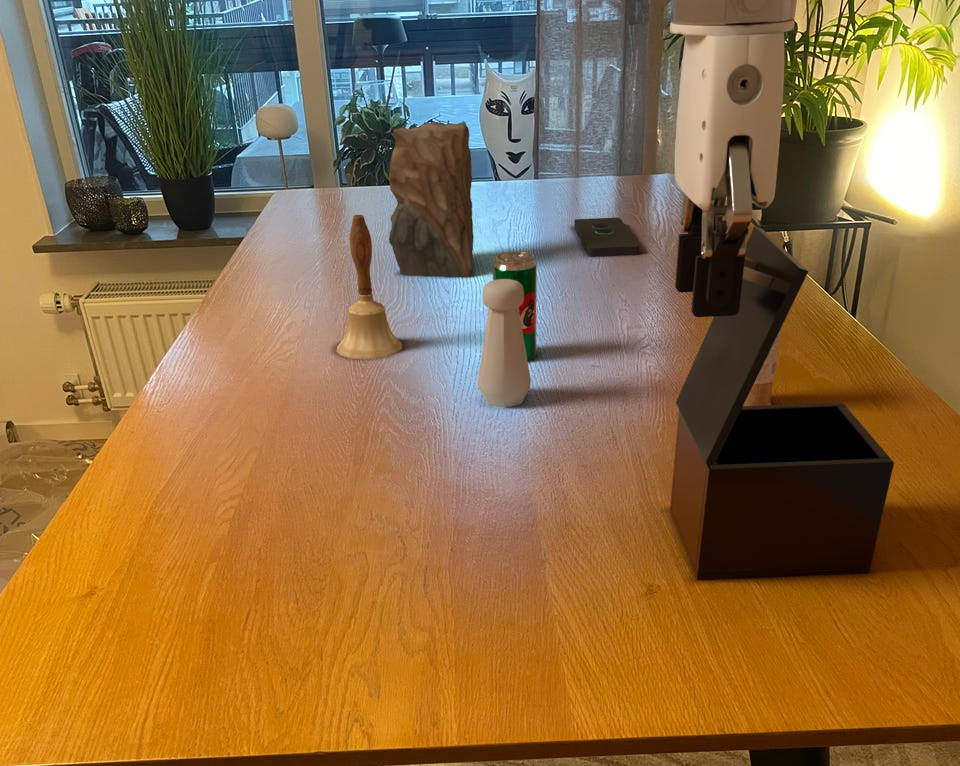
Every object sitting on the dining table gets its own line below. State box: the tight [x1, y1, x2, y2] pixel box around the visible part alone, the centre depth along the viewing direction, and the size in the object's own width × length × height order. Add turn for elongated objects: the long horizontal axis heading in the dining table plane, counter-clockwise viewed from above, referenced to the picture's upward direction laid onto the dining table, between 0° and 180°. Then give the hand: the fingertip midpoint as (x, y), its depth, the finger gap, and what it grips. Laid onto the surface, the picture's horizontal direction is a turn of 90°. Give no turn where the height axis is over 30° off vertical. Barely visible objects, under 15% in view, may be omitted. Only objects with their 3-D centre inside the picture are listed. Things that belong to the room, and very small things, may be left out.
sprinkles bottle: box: [743, 328, 782, 406], centre depth 104 cm, size 5×5×13 cm
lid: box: [675, 225, 809, 465], centre depth 73 cm, size 14×12×5 cm
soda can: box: [492, 250, 538, 361], centre depth 118 cm, size 5×5×12 cm
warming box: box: [669, 402, 895, 581], centre depth 81 cm, size 14×12×10 cm
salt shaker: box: [477, 279, 532, 409], centre depth 107 cm, size 6×6×13 cm
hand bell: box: [336, 214, 403, 360], centre depth 121 cm, size 8×8×16 cm
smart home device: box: [573, 217, 640, 258], centre depth 166 cm, size 8×2×20 cm
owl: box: [388, 120, 474, 278], centre depth 150 cm, size 13×13×20 cm
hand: (705, 299), depth 72 cm, fingers closed on lid, 5 cm apart
